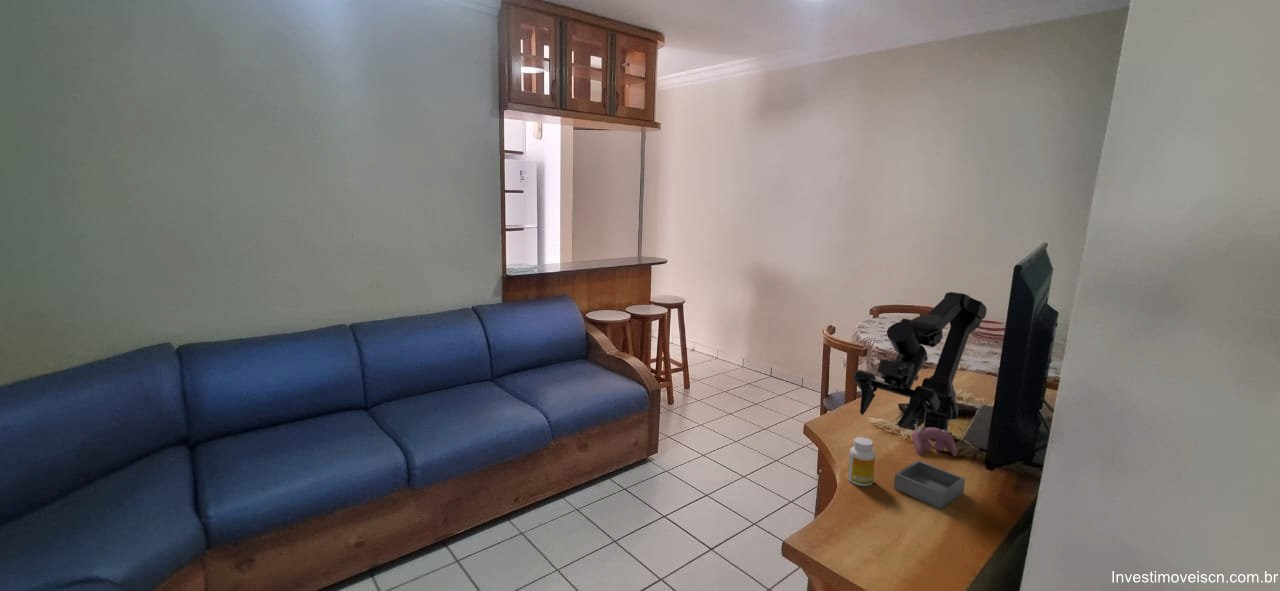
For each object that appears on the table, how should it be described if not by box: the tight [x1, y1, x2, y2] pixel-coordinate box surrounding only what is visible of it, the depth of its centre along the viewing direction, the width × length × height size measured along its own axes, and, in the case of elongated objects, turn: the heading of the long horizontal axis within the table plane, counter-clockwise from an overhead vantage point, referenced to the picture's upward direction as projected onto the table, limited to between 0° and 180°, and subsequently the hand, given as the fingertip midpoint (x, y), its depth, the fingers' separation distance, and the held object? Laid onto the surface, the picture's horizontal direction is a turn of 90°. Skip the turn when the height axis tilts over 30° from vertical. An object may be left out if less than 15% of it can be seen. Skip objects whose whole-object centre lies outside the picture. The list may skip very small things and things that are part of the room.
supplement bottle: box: [847, 436, 876, 487], centre depth 123 cm, size 5×5×10 cm
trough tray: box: [893, 460, 966, 510], centre depth 119 cm, size 10×10×4 cm
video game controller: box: [911, 427, 958, 457], centre depth 137 cm, size 10×5×7 cm, turn 84°
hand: (879, 420), depth 125 cm, fingers open, 9 cm apart
